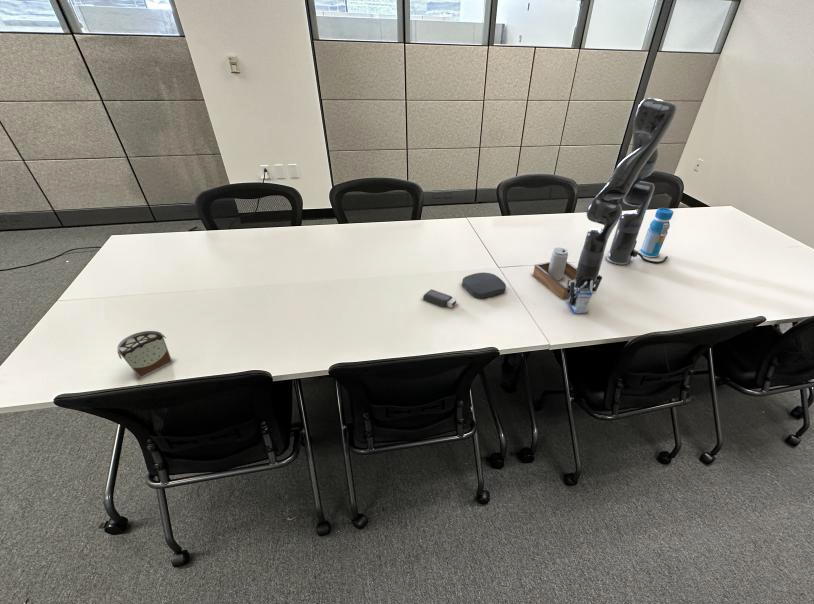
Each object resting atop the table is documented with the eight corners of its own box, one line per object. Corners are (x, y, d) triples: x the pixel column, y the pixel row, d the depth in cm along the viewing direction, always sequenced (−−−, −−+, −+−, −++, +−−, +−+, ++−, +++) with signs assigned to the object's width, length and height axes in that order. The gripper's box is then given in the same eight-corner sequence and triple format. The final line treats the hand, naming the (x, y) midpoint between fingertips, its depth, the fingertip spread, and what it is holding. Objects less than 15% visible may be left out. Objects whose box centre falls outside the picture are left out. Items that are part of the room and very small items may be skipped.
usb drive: (430, 293, 159) (430, 287, 158) (457, 303, 155) (457, 296, 153) (423, 299, 156) (423, 293, 154) (450, 309, 152) (450, 302, 150)
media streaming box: (476, 300, 157) (477, 293, 155) (458, 283, 166) (458, 276, 164) (509, 292, 162) (510, 285, 160) (489, 276, 172) (490, 269, 170)
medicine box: (568, 302, 158) (573, 282, 152) (579, 302, 159) (585, 281, 153) (574, 313, 153) (580, 293, 147) (586, 313, 153) (592, 292, 147)
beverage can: (562, 282, 170) (569, 254, 162) (546, 280, 171) (552, 252, 163) (562, 275, 175) (568, 247, 166) (547, 273, 175) (552, 246, 167)
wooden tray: (561, 269, 179) (563, 258, 175) (592, 292, 165) (595, 281, 162) (532, 275, 174) (534, 264, 171) (562, 299, 160) (565, 288, 157)
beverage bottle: (638, 255, 192) (655, 211, 178) (639, 248, 197) (655, 205, 184) (658, 259, 189) (675, 215, 176) (658, 252, 195) (675, 208, 182)
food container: (166, 351, 128) (151, 324, 121) (177, 359, 125) (163, 332, 119) (124, 372, 120) (106, 344, 113) (135, 381, 118) (117, 353, 111)
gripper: (580, 269, 138) (568, 312, 150) (614, 262, 143) (600, 304, 154) (567, 259, 143) (556, 302, 154) (599, 253, 148) (587, 294, 159)
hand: (578, 303), depth 154 cm, fingers closed on medicine box, 5 cm apart
